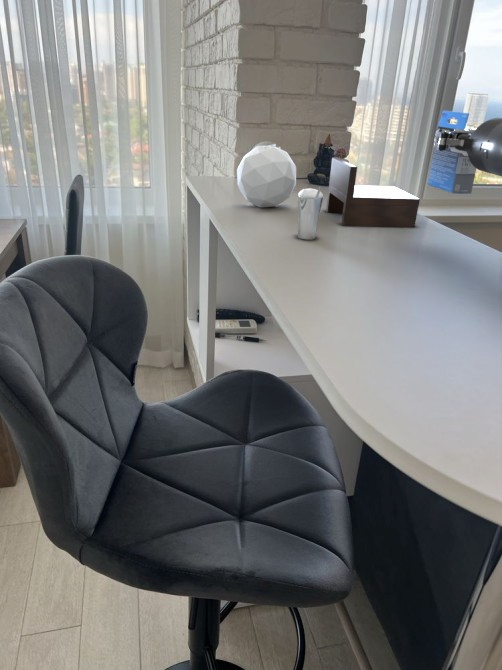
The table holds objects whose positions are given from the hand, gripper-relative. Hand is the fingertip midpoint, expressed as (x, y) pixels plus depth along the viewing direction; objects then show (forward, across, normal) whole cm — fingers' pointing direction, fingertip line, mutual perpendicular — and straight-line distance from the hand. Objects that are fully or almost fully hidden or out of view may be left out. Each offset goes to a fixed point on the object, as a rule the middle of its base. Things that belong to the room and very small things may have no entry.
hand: (450, 137), depth 86 cm
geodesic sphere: (+33, +26, +19) cm, 46 cm away
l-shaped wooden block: (+22, +4, +19) cm, 30 cm away
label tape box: (-3, 0, +8) cm, 9 cm away
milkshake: (+5, +22, +20) cm, 30 cm away
